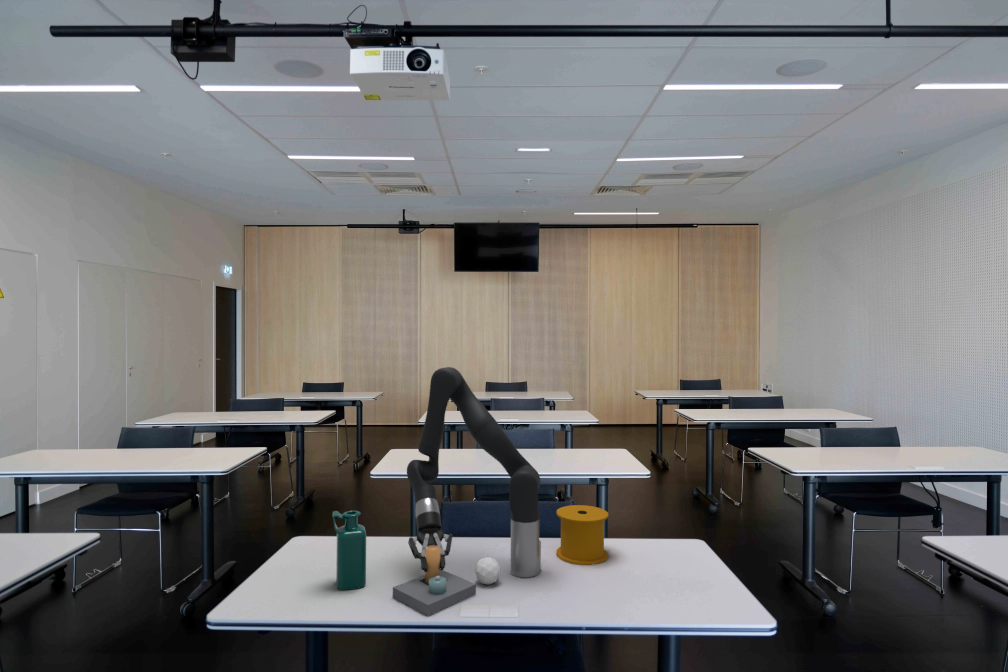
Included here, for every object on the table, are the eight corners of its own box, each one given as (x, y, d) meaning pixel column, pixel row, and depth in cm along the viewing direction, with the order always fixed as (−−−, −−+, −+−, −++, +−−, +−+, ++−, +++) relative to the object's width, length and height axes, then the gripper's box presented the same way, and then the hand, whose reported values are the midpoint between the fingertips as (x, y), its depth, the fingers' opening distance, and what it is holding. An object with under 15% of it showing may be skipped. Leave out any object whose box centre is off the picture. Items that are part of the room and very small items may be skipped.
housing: (440, 578, 173) (440, 556, 173) (475, 594, 162) (476, 570, 162) (392, 597, 160) (392, 573, 160) (428, 616, 149) (428, 590, 149)
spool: (612, 565, 184) (612, 520, 184) (558, 564, 185) (558, 519, 185) (603, 545, 202) (603, 504, 202) (554, 545, 203) (554, 504, 203)
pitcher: (364, 576, 174) (364, 506, 175) (366, 588, 166) (366, 514, 166) (331, 580, 171) (332, 509, 171) (332, 592, 163) (333, 517, 163)
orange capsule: (433, 577, 168) (434, 544, 168) (443, 581, 165) (443, 548, 165) (422, 581, 165) (422, 548, 165) (431, 586, 162) (432, 552, 162)
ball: (491, 594, 169) (494, 580, 164) (469, 581, 171) (471, 567, 166) (503, 574, 174) (506, 559, 170) (481, 562, 177) (483, 547, 172)
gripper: (406, 512, 170) (411, 567, 158) (452, 508, 174) (459, 561, 163) (404, 524, 175) (408, 578, 163) (448, 520, 179) (455, 572, 168)
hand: (434, 569), depth 163 cm, fingers closed on orange capsule, 4 cm apart
